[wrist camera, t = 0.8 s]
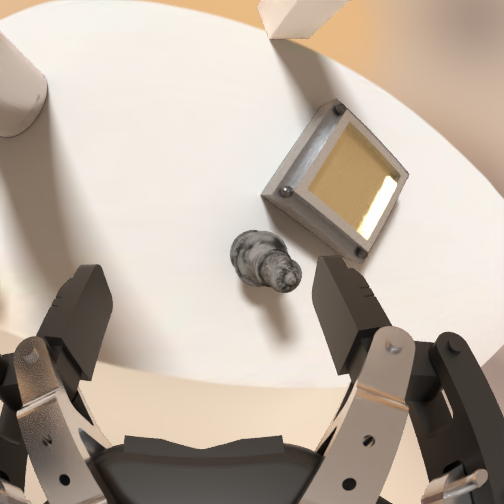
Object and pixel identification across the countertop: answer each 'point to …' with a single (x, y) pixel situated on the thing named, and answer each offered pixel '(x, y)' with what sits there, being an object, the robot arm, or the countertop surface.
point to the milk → (296, 16)
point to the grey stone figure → (264, 261)
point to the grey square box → (338, 182)
